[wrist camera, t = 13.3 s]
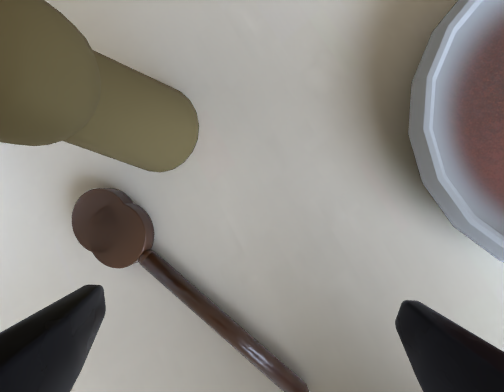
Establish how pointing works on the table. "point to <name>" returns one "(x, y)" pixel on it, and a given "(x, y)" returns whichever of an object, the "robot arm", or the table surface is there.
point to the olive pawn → (84, 94)
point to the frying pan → (464, 120)
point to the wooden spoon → (162, 271)
